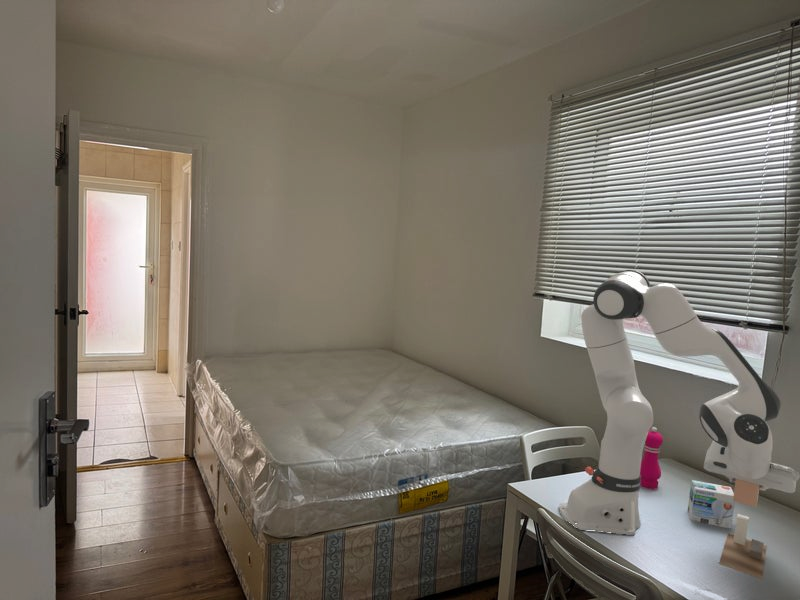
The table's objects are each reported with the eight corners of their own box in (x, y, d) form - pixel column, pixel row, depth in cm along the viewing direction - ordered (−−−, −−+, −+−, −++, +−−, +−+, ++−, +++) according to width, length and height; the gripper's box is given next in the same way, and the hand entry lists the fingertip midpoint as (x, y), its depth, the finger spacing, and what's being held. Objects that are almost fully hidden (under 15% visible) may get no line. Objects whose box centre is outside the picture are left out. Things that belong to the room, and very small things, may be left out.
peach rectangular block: (756, 507, 140) (760, 477, 139) (732, 500, 143) (736, 471, 142) (757, 500, 144) (761, 471, 143) (735, 493, 147) (738, 465, 146)
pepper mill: (663, 490, 176) (670, 431, 174) (641, 489, 176) (648, 430, 174) (653, 480, 184) (660, 424, 181) (632, 479, 184) (638, 422, 181)
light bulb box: (689, 523, 156) (694, 488, 154) (686, 513, 162) (690, 478, 161) (731, 532, 152) (736, 496, 151) (726, 521, 158) (731, 486, 157)
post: (744, 545, 143) (748, 520, 143) (733, 541, 145) (736, 517, 144) (745, 541, 145) (749, 517, 145) (734, 538, 147) (737, 513, 146)
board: (761, 582, 129) (763, 565, 128) (718, 567, 134) (720, 550, 134) (766, 549, 144) (768, 533, 144) (727, 536, 149) (729, 521, 149)
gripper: (801, 460, 130) (796, 485, 139) (706, 437, 142) (707, 462, 151) (798, 484, 127) (794, 508, 136) (701, 458, 139) (702, 482, 148)
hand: (747, 483), depth 144 cm, fingers closed on peach rectangular block, 5 cm apart
